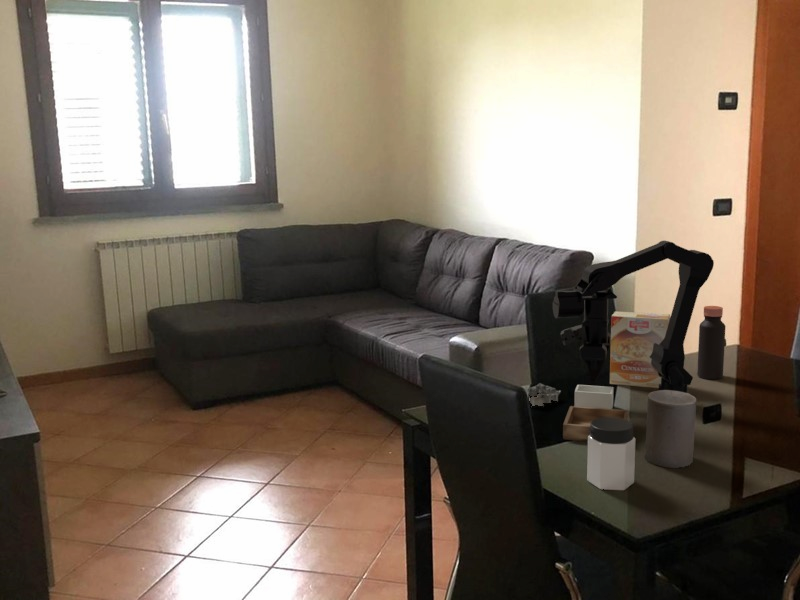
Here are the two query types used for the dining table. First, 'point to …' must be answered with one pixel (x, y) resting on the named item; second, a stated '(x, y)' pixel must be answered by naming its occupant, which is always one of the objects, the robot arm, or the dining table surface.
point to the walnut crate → (586, 420)
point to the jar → (611, 454)
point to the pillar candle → (670, 428)
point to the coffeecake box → (635, 347)
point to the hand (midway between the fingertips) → (594, 377)
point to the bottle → (711, 344)
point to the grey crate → (594, 396)
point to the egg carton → (542, 394)
